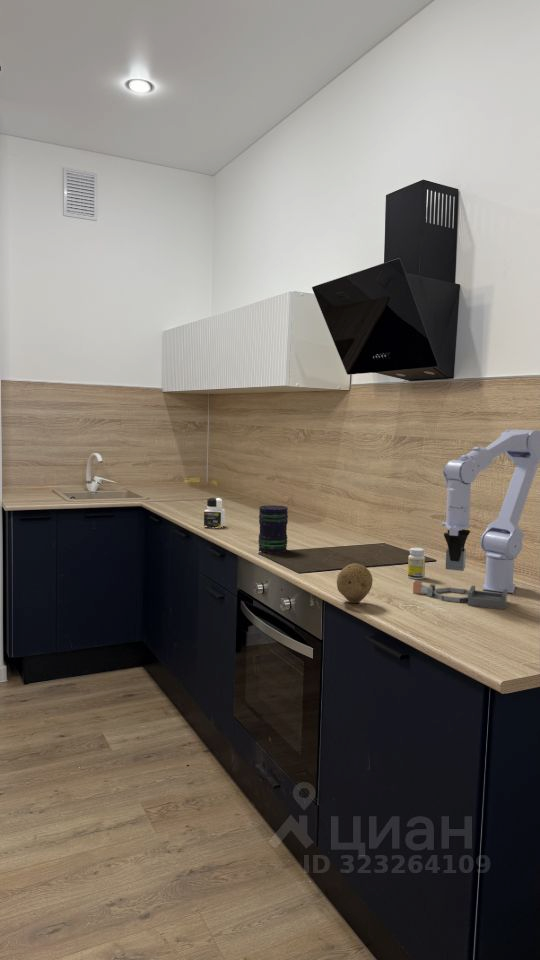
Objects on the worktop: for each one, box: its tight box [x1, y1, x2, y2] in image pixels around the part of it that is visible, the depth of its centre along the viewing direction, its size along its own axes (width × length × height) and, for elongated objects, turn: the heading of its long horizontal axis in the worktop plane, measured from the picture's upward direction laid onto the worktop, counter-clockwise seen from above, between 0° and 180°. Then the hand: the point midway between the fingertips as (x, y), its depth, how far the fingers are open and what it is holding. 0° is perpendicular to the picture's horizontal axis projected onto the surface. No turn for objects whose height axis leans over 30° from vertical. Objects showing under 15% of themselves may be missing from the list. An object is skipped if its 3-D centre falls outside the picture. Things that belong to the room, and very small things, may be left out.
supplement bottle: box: [407, 547, 426, 580], centre depth 199 cm, size 5×5×8 cm
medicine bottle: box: [203, 497, 226, 529], centre depth 282 cm, size 7×7×12 cm
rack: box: [467, 585, 508, 610], centre depth 173 cm, size 8×9×3 cm
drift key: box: [412, 580, 432, 595], centre depth 182 cm, size 3×4×3 cm, turn 68°
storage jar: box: [258, 505, 289, 554], centre depth 235 cm, size 10×10×15 cm
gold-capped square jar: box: [445, 547, 467, 572], centre depth 178 cm, size 4×4×8 cm
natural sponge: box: [336, 563, 374, 604], centre depth 170 cm, size 9×9×10 cm
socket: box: [426, 583, 470, 603], centre depth 179 cm, size 11×12×2 cm
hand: (456, 559), depth 178 cm, fingers closed on gold-capped square jar, 4 cm apart
